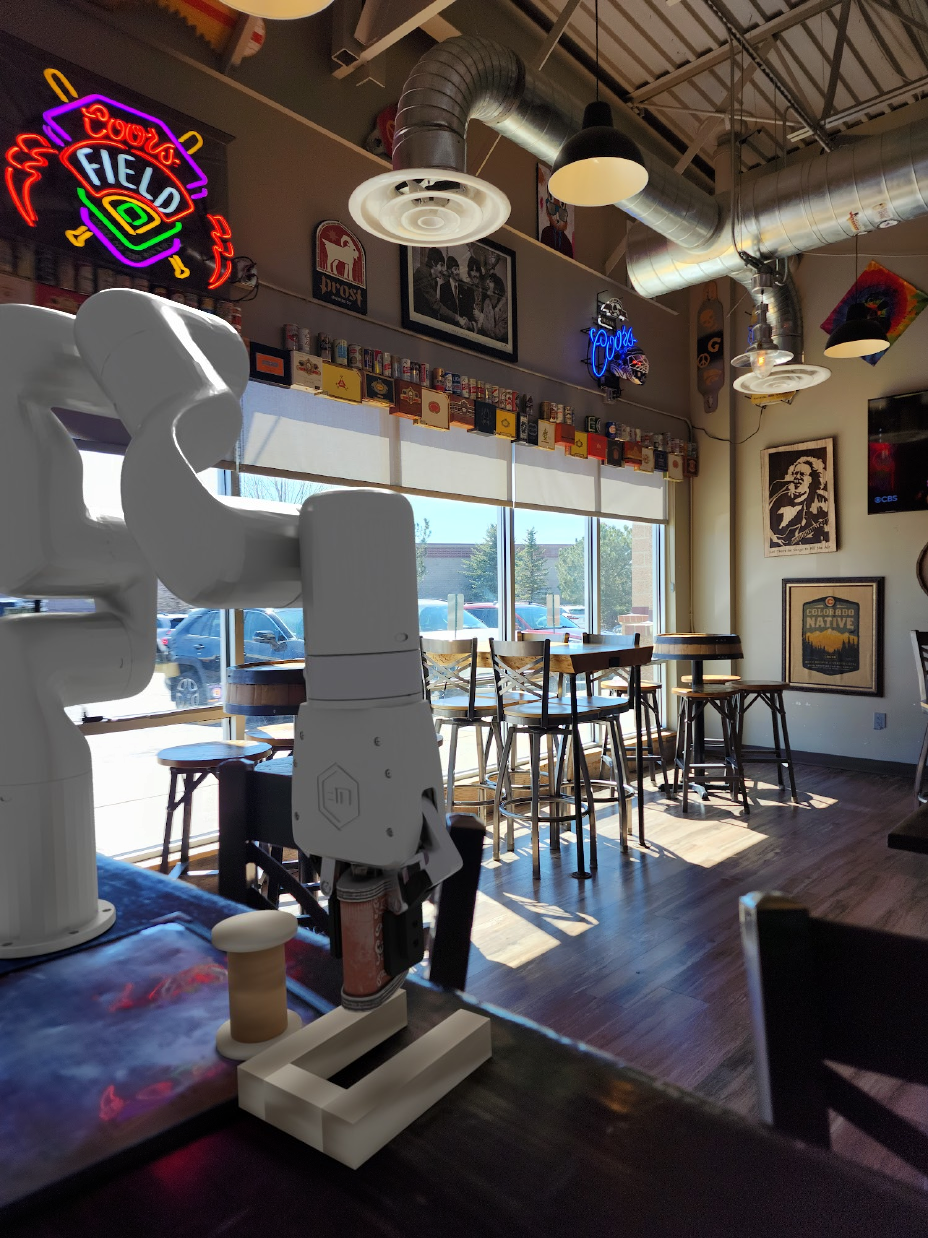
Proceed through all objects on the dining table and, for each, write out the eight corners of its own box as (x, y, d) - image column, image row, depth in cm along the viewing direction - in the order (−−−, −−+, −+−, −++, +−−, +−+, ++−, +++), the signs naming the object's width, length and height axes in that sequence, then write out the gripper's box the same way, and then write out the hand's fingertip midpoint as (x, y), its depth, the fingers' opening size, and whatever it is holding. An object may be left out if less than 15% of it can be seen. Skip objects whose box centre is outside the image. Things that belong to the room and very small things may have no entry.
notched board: (238, 1107, 48) (237, 1066, 48) (382, 1015, 59) (380, 982, 59) (355, 1170, 42) (353, 1124, 42) (491, 1055, 53) (490, 1018, 53)
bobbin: (198, 1043, 56) (193, 932, 56) (266, 1007, 61) (261, 904, 61) (252, 1070, 52) (247, 950, 52) (319, 1029, 57) (314, 920, 57)
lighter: (382, 1015, 47) (375, 848, 47) (329, 1010, 48) (322, 847, 48) (420, 957, 55) (414, 814, 55) (374, 954, 56) (368, 813, 56)
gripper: (236, 684, 53) (248, 952, 53) (426, 688, 43) (442, 1019, 43) (318, 674, 59) (329, 916, 59) (502, 676, 49) (516, 967, 49)
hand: (377, 956), depth 51 cm, fingers closed on lighter, 4 cm apart
